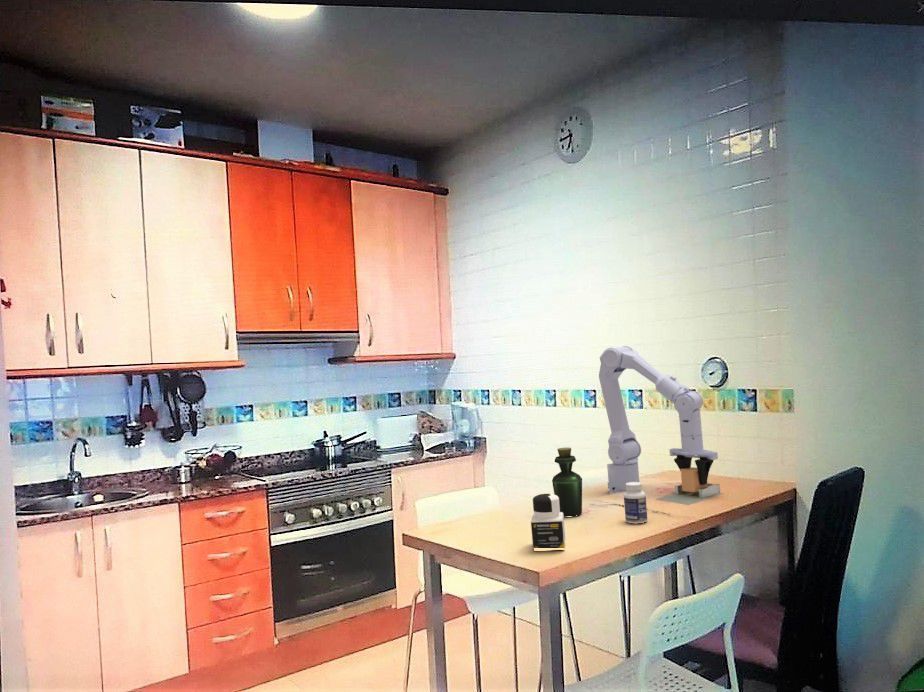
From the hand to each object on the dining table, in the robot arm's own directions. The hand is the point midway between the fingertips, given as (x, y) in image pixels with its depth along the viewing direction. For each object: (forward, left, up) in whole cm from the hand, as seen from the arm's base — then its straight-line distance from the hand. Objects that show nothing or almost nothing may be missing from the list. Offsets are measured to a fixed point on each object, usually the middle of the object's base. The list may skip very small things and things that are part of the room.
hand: (695, 483), depth 189 cm
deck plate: (-2, -2, -4) cm, 5 cm away
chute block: (0, -1, -2) cm, 2 cm away
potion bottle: (-35, -12, -4) cm, 37 cm away
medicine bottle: (-39, -41, -5) cm, 57 cm away
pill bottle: (-18, -22, -4) cm, 29 cm away
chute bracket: (0, 0, -3) cm, 3 cm away
